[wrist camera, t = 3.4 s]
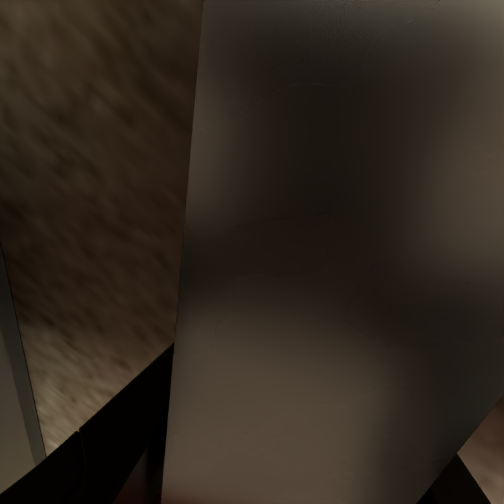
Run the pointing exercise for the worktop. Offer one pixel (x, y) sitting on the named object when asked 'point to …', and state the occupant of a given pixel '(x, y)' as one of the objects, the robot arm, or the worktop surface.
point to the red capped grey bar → (338, 251)
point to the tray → (15, 398)
